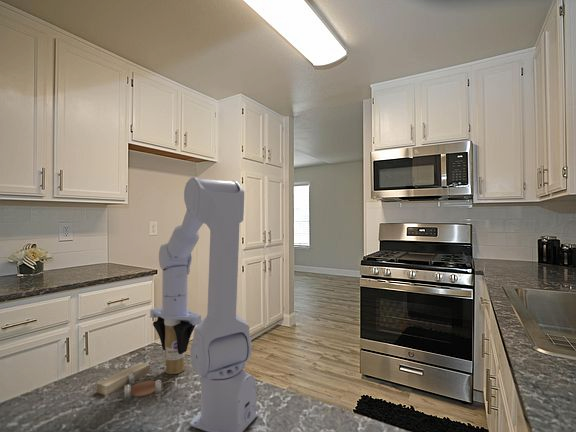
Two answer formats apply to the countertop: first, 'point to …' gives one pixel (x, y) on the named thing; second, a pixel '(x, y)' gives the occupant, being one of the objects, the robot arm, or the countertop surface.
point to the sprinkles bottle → (172, 349)
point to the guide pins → (131, 381)
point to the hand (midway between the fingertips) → (174, 350)
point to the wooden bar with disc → (122, 380)
